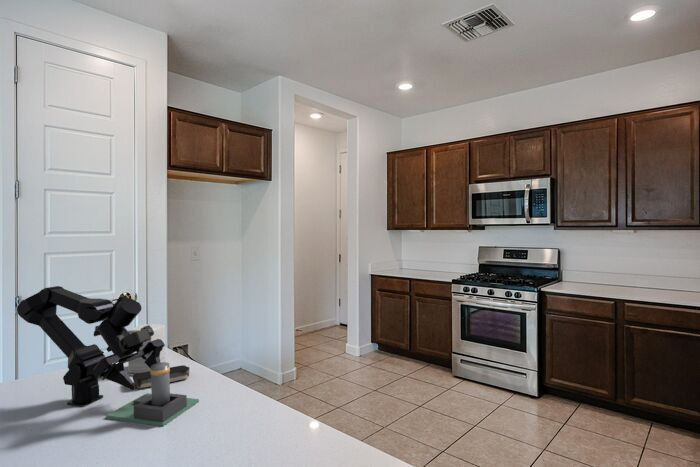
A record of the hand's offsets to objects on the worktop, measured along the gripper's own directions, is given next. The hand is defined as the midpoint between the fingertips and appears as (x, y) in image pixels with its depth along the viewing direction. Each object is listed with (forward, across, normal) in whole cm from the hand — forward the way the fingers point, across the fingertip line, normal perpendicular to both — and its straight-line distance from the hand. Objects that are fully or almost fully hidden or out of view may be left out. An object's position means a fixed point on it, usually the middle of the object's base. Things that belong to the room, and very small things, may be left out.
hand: (148, 381), depth 106 cm
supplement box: (-14, +25, +26) cm, 39 cm away
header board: (+6, +2, +6) cm, 8 cm away
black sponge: (-4, +18, +16) cm, 25 cm away
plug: (+8, 0, +2) cm, 9 cm away
